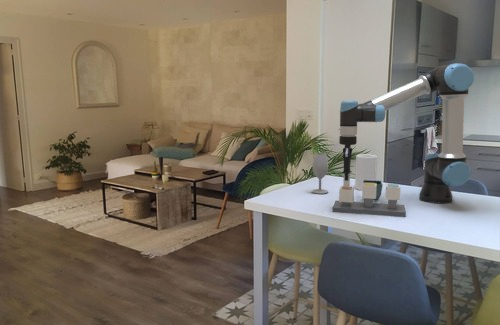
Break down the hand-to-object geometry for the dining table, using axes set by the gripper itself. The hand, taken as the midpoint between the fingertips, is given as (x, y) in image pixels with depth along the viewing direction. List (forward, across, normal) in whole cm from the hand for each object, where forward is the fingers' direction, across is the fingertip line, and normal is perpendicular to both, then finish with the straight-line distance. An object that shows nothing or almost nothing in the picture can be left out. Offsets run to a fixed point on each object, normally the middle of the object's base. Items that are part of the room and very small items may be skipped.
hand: (346, 187), depth 195 cm
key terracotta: (+6, 0, 0) cm, 6 cm away
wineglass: (+11, -29, -16) cm, 35 cm away
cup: (+10, -44, +7) cm, 46 cm away
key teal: (+4, 0, +20) cm, 21 cm away
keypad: (+10, 0, +10) cm, 14 cm away
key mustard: (+4, 0, +10) cm, 11 cm away
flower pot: (+10, -20, +11) cm, 25 cm away
